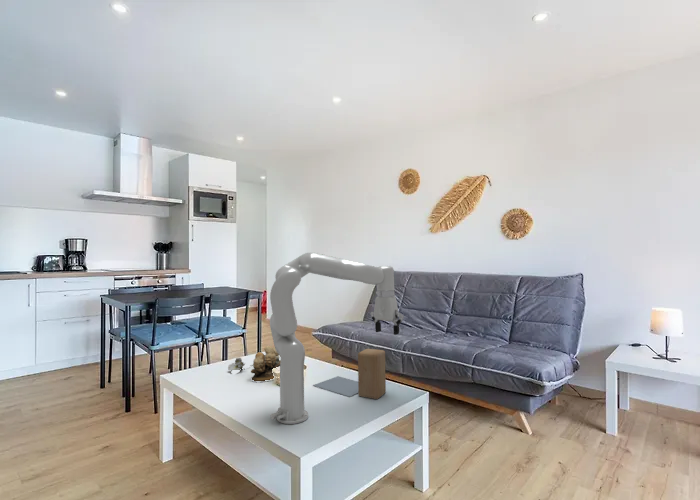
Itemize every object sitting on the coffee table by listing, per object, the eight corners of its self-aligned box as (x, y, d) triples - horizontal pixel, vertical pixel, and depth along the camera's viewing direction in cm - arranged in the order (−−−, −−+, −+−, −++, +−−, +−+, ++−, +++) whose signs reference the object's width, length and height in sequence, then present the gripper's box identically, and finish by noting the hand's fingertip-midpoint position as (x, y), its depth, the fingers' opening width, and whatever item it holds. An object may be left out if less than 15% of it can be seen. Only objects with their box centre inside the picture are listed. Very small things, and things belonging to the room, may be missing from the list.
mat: (349, 397, 180) (349, 396, 180) (313, 385, 195) (313, 385, 195) (374, 386, 193) (374, 385, 193) (338, 376, 209) (338, 376, 209)
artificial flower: (270, 369, 229) (270, 354, 226) (231, 381, 216) (231, 365, 213) (264, 362, 236) (263, 347, 233) (226, 373, 223) (225, 357, 220)
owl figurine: (275, 371, 220) (274, 340, 220) (288, 376, 212) (287, 344, 212) (246, 379, 207) (246, 346, 207) (258, 384, 199) (258, 350, 199)
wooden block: (357, 396, 180) (357, 352, 180) (367, 389, 189) (366, 347, 189) (377, 400, 176) (377, 355, 176) (386, 392, 184) (385, 349, 184)
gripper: (365, 294, 177) (366, 332, 178) (397, 296, 166) (398, 336, 166) (375, 292, 183) (376, 329, 183) (407, 294, 172) (408, 333, 172)
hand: (387, 332), depth 175 cm, fingers open, 9 cm apart
